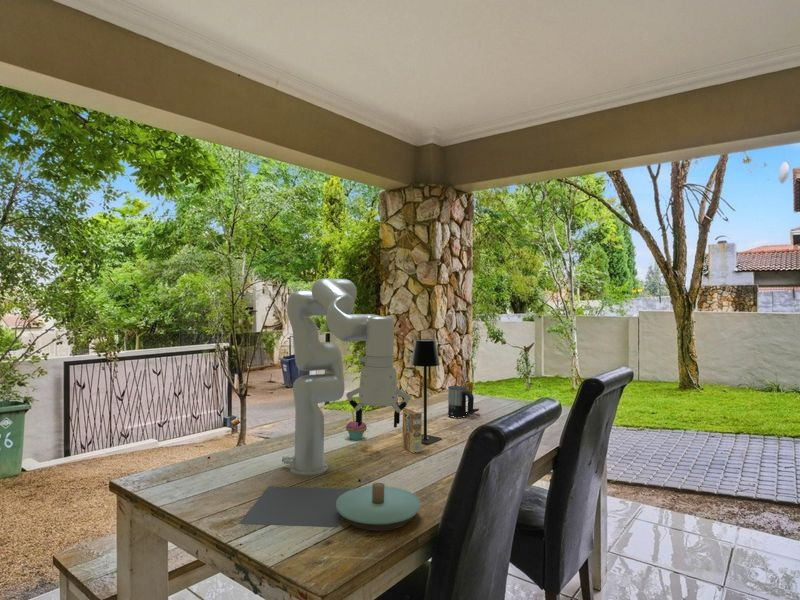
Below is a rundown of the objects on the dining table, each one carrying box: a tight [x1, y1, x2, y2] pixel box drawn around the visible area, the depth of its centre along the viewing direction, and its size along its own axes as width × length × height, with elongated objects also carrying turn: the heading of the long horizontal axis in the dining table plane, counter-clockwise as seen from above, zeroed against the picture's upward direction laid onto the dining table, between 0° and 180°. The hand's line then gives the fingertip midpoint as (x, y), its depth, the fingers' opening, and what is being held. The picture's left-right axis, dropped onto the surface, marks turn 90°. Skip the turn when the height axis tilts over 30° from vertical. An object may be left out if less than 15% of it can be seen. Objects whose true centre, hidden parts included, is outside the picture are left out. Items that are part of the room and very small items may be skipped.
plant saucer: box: [343, 517, 413, 532], centre depth 130 cm, size 21×21×3 cm
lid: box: [336, 482, 421, 524], centre depth 130 cm, size 22×22×5 cm
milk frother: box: [447, 385, 480, 417], centre depth 248 cm, size 14×16×15 cm
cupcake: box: [345, 408, 368, 441], centre depth 204 cm, size 9×8×12 cm
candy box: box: [402, 407, 423, 454], centre depth 190 cm, size 9×4×15 cm, turn 26°
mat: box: [238, 485, 352, 528], centre depth 136 cm, size 25×25×1 cm
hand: (377, 425), depth 133 cm, fingers open, 9 cm apart
